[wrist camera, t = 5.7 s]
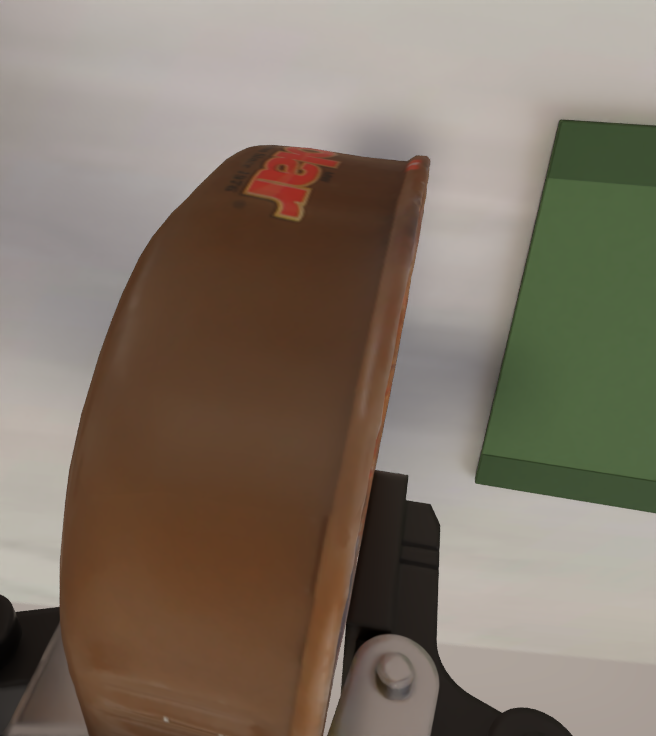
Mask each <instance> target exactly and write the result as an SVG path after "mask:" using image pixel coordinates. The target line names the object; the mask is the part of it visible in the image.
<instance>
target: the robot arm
mask: <svg viewBox="0 0 656 736" xmlns="http://www.w3.org/2000/svg"><path fill="white" fill-rule="evenodd" d="M407 483H408V475H404V474H398V473H391V472H385V471H378V470H375V471H374V475H373V480H372V486H371V491H370V497H369V502H368V507H367V513H366V518H365V524H364V529H363V534H362V540H361V545H360V551H359V556H358V561H357V567H356V572H355V578H354V583H353V588H352V594H351V599H350V605H349V610H348V615H347V621H346V632H345V645H344V658H343V673H342V686H341V696H340V699H339V702H338V705H337V708H336V711H335V715H334V717H333V720H332V723H331V727H330V729H329V732H328V735H327V736H572V735H571V733H570V732H569V731H568V730H567V729H566V728H565V727H564V726H563V725H562V724H561V723H559V722H558V721H557V720H555V719H554V718H553V717H551V716H549V715H547V714H545V713H543V712H541V711H538V710H535V709H530V708H513V709H510V710H507V711H505V712H503V713H501V712H500V711H498V710H496V709H494V708H492V707H491V706H489V705H487V704H486V703H484V702H482V701H480V700H479V699H477V698H475V697H473V696H472V695H470V694H469V693H467V692H466V691H464V690H463V689H462V688H461V687H459V686H458V685H457V684H456V683H455V682H454V681H453V679H451V677H450V676H449V674H448V673H447V672H446V670H445V668H444V666H443V665H442V663H441V660H440V657H439V654H438V650H437V609H438V578H439V570H438V569H439V547H440V524H439V521H438V519H437V517H436V515H435V513H434V511H433V508H432V506H431V504H426V503H419V502H413V501H407V500H406V493H407ZM0 736H89V734H88V731H87V727H86V724H85V720H84V717H83V714H82V711H81V707H80V704H79V701H78V699H77V696H76V692H75V687H74V684H73V682H72V679H71V676H70V674H69V669H68V663H67V660H66V656H65V652H64V647H63V642H62V637H61V624H60V607H55V608H47V609H38V610H29V611H20V612H15V610H14V608H13V606H12V604H11V602H10V601H9V600H8V599H7V598H6V597H5V596H2V595H0Z"/></svg>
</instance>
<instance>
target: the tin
mask: <svg viewBox="0 0 656 736" xmlns="http://www.w3.org/2000/svg"><path fill="white" fill-rule="evenodd" d="M429 166H430V159H429V158H428V157H427V156H419V155H418V156H415V157H413V158H411V159H410V160H408V161H396V160H387V159H378V158H369V157H361V156H355V155H349V154H342V153H336V152H330V151H324V150H318V149H312V148H301V147H290V146H278V145H260V146H253V147H248V148H246V149H244V150H242V151H239V152H238V153H236V154H234V155H233V156H231V157H230V158H228V159H226V160H225V161H224V162H223V163H222V164H221V165H220V166H219V167H218V168H217V169H216V170H215V171H213V172H212V173H211V174H210V175H209V176H208V177H207V178H206V179H205V180H204V181H203V182H202V183H201V184H200V185H199V186H198V187H197V188H196V189H195V190H194V191H193V192H192V194H191V195H190V196H189V197H188V198H187V199H186V200H185V201H184V202H183V203H182V204H181V205H180V206H179V207H178V208H176V209H175V210H174V211H173V212H172V213H171V215H170V216H169V217H168V218H167V220H166V221H165V222H164V223H163V224H162V226H161V227H160V228H159V229H158V230H157V232H156V233H155V234H154V235H153V237H152V238H151V240H150V241H149V243H148V245H147V246H146V248H145V249H144V251H143V253H142V254H141V256H140V257H139V259H138V261H137V264H136V266H135V268H134V270H133V272H132V274H131V276H130V278H129V281H128V283H127V285H126V287H125V289H124V291H123V293H122V296H121V298H120V301H119V303H118V306H117V308H116V311H115V313H114V316H113V318H112V321H111V324H110V326H109V329H108V332H107V335H106V337H105V340H104V343H103V346H102V349H101V351H100V354H99V357H98V361H97V364H96V367H95V371H94V374H93V377H92V381H91V384H90V387H89V391H88V394H87V397H86V401H85V404H84V407H83V410H82V414H81V418H80V423H79V427H78V432H77V437H76V441H75V446H74V451H73V455H72V460H71V464H70V469H69V477H68V485H67V492H66V500H65V511H64V521H63V532H62V544H61V556H60V624H61V637H62V642H63V647H64V652H65V656H66V660H67V663H68V669H69V674H70V676H71V679H72V682H73V684H74V687H75V692H76V696H77V699H78V701H79V704H80V707H81V711H82V714H83V717H84V720H85V724H86V727H87V731H88V734H89V736H323V733H324V728H325V722H326V717H327V711H328V706H329V701H330V696H331V689H332V685H333V679H334V673H335V669H336V665H337V660H338V655H339V651H340V646H341V642H342V638H343V634H344V629H345V625H346V620H347V615H348V610H349V605H350V599H351V594H352V588H353V583H354V578H355V572H356V566H357V557H358V554H359V549H360V545H361V540H362V534H363V529H364V524H365V518H366V513H367V507H368V502H369V497H370V491H371V486H372V480H373V475H374V471H375V468H376V463H377V458H378V453H379V446H380V442H381V437H382V433H383V427H384V421H385V416H386V412H387V407H388V402H389V397H390V391H391V386H392V381H393V376H394V371H395V366H396V361H397V355H398V350H399V344H400V338H401V333H402V328H403V322H404V318H405V312H406V307H407V302H408V294H409V288H410V282H411V275H412V272H413V268H414V263H415V258H416V252H417V247H418V242H419V236H420V229H421V222H422V217H423V213H424V204H425V199H426V192H427V183H428V177H429Z"/></svg>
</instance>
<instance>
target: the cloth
mask: <svg viewBox="0 0 656 736" xmlns="http://www.w3.org/2000/svg"><path fill="white" fill-rule="evenodd" d="M475 483H476V484H482V485H488V486H494V487H500V488H506V489H512V490H518V491H524V492H530V493H536V494H542V495H548V496H554V497H561V498H567V499H573V500H579V501H585V502H591V503H597V504H603V505H609V506H615V507H621V508H627V509H633V510H639V511H645V512H651V513H656V126H653V125H638V124H622V123H606V122H591V121H575V120H560V121H559V125H558V129H557V134H556V138H555V142H554V146H553V151H552V155H551V159H550V163H549V168H548V172H547V176H546V180H545V184H544V189H543V193H542V197H541V201H540V206H539V210H538V214H537V218H536V223H535V227H534V231H533V235H532V240H531V244H530V248H529V252H528V257H527V261H526V265H525V269H524V273H523V278H522V282H521V286H520V290H519V295H518V299H517V303H516V307H515V312H514V316H513V320H512V324H511V329H510V333H509V337H508V341H507V346H506V350H505V354H504V358H503V362H502V367H501V371H500V375H499V379H498V384H497V388H496V392H495V396H494V401H493V405H492V409H491V413H490V418H489V422H488V426H487V430H486V434H485V439H484V443H483V447H482V451H481V456H480V460H479V464H478V468H477V473H476V477H475Z"/></svg>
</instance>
